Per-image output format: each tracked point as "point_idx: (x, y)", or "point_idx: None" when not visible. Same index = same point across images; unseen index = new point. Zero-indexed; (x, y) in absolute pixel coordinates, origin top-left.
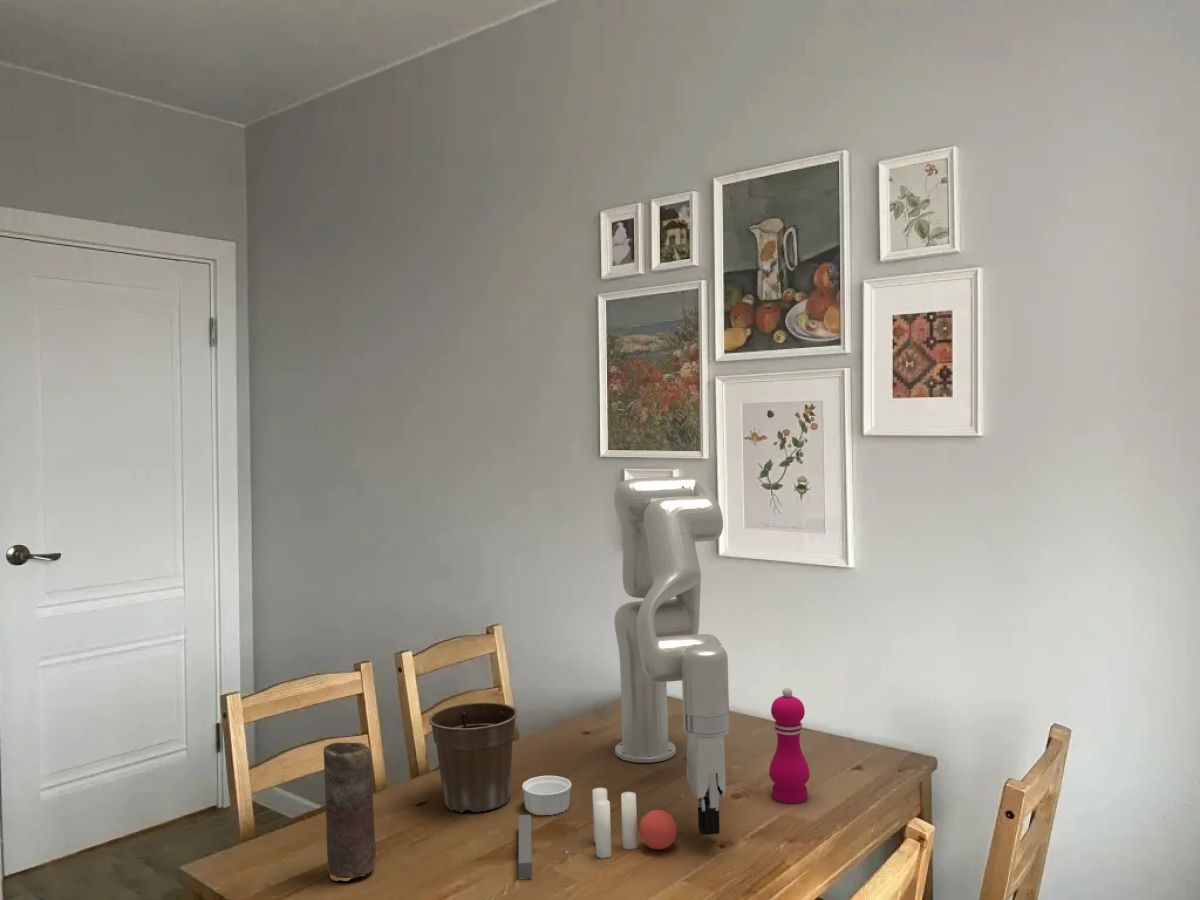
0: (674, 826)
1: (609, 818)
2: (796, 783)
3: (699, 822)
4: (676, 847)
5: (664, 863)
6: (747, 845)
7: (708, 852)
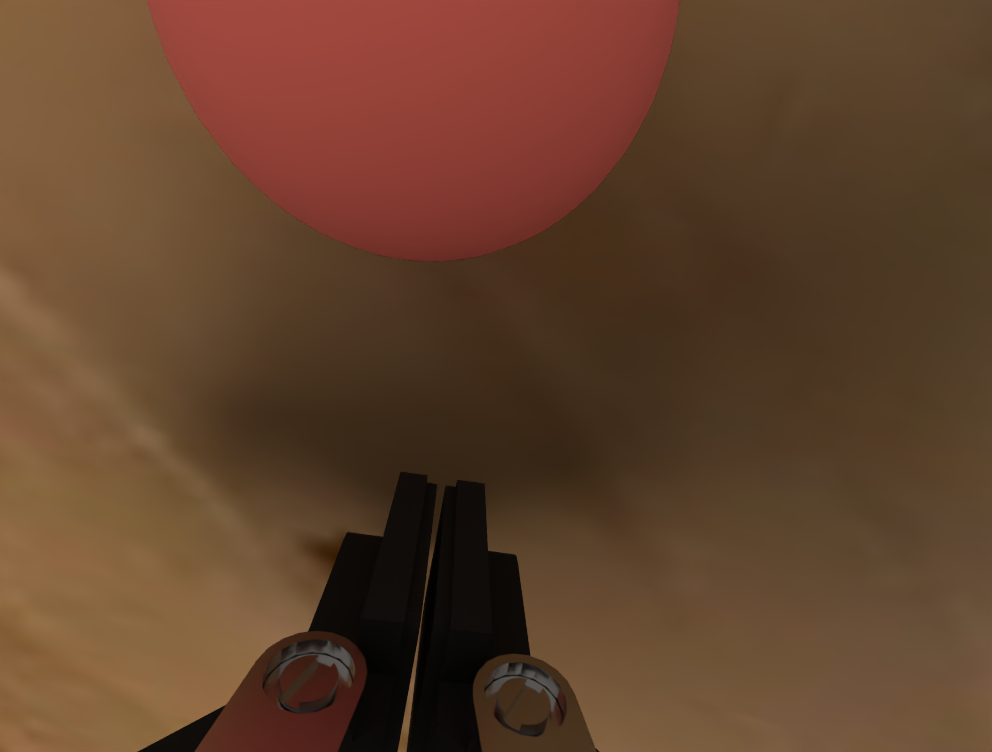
0: (268, 194)
1: None
2: None
3: (417, 523)
4: None
5: (114, 10)
6: None
7: (257, 439)
